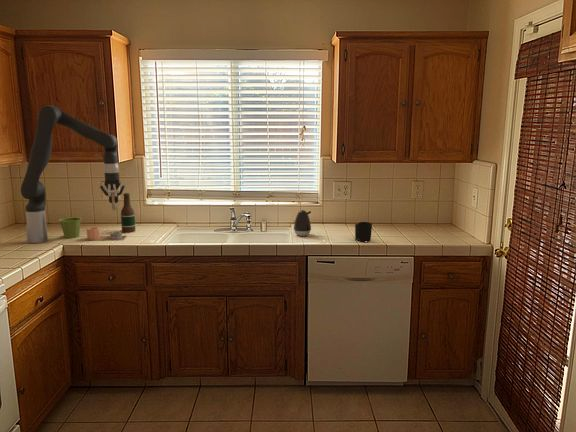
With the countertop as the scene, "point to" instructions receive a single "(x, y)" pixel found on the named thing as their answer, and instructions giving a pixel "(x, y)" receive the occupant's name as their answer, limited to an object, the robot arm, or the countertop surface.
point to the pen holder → (363, 231)
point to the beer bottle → (127, 216)
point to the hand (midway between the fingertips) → (113, 202)
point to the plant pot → (71, 226)
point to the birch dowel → (113, 201)
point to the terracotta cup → (93, 233)
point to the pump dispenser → (302, 223)
